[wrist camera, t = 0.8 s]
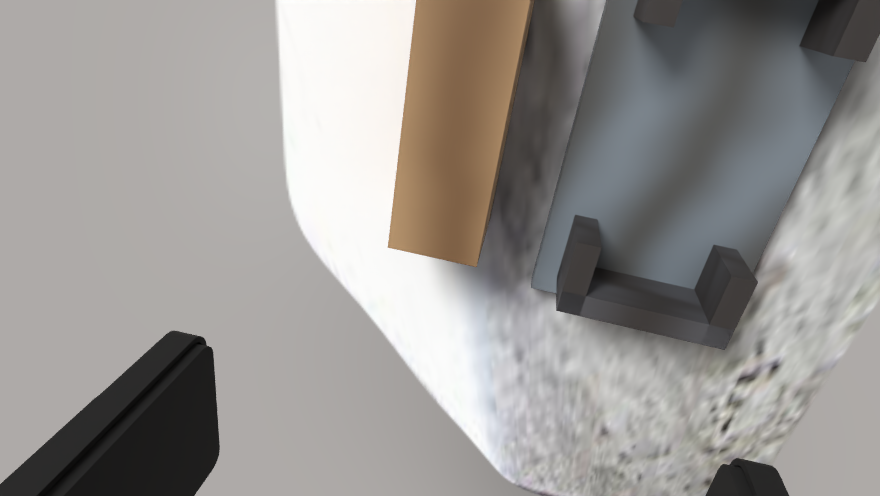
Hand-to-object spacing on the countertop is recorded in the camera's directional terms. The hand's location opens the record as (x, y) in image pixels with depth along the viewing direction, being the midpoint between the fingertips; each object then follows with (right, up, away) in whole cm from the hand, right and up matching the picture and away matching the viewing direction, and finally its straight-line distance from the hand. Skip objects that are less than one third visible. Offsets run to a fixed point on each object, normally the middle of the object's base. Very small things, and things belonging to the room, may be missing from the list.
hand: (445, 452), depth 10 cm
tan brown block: (+2, +12, +19) cm, 23 cm away
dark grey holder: (+12, +9, +18) cm, 24 cm away
